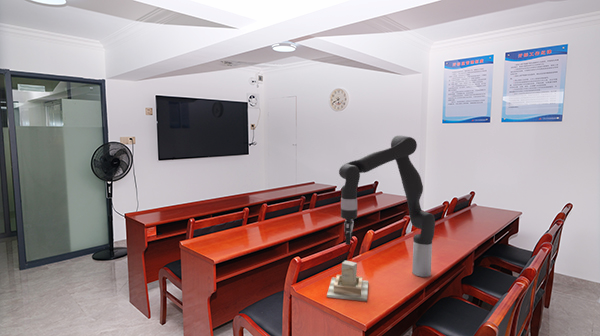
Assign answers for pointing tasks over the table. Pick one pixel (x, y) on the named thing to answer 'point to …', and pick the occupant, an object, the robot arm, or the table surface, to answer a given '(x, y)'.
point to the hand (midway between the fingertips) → (348, 241)
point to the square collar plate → (348, 289)
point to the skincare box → (348, 273)
